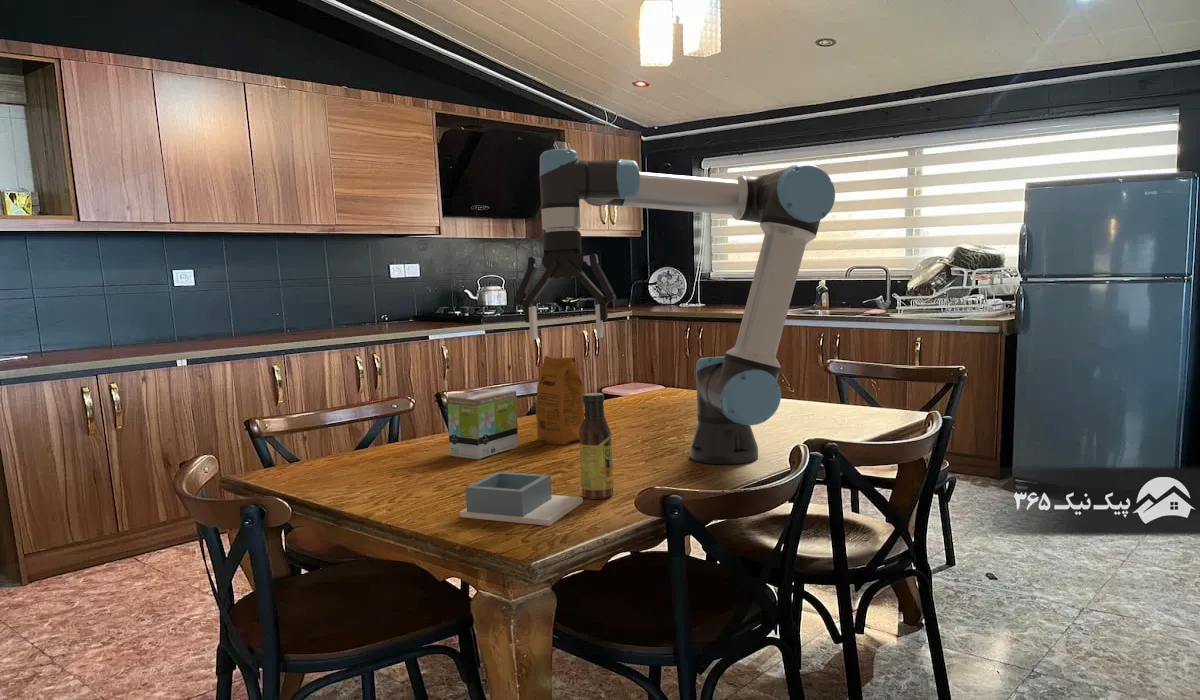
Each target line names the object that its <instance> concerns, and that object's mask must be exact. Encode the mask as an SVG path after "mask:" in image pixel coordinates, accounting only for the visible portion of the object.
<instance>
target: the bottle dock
mask: <svg viewBox="0 0 1200 700" xmlns="http://www.w3.org/2000/svg"><path fill="white" fill-rule="evenodd" d="M551 477H552V476H551V475H550V474H536V473H535V474H534V473H521V472H508V471H507V472H506V471H495V472H494V473H492V474H489V475H487V476H486V477H484V478H482V479H480V480H476V482H474V483H472V484H469V485H468V486H466V487H465V501H466V508H464V509H462V510H461V511H459V517H460V518H468V519H477V520H485V521H486V520H487V521H488V520H489V521H498V522H508V523H516V524H527V525H535V526H536V525H538V526H547V527H548V526H550V527H551V526H552V525H553V524H554V523H555V522H557V521H558V520H560V519H561V518H563V517H565V515H568V513H570V512H571V511H573V510H574V509H576V508H577V507H579V506H580V505H581V504H583V499H584V498H583V496H582V497H581V496H572V495H571V496H570V495H558V494H557V495H555V494H552V478H551Z"/></svg>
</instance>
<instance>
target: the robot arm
mask: <svg viewBox="0 0 1200 700" xmlns="http://www.w3.org/2000/svg"><path fill="white" fill-rule="evenodd" d="M539 187H540V188H539V189H540V203H541V204H540V205H541V224H542V225H541V228H542V230H545V232H543V234H542V244H543V247H542V249H543V255H542V257H536V256H529V257H528V259H527V269H526V271H525V274H524V276H523V279H522V280H521V284H520V286H519V288H518V290H517V293H516V296H515V298H514V303H515V304H516V305H521V306H522V307H523V312H524V313H523V314H524V321H525V323H526V324H529V335H530V336H529V338H530V341H531V340H533V341H534V340H537V339H538V337H539V335H538V334H539V333H538V313H537V311H538V310H537V306H536V305H534V303H535V301H536V300H537V299H538V298H539V296H540V294H542V292H543V291H544V289H545V288H546V287H547V286H548V284H549V283H550V282H551V281H552V279H553V278H554V279H555V280H556V279H563V278H564V279H572V278H576V279H577V280H578V281H580V283H581V284H582V286H584V288H585V289H586V290H587V291H588V292H589V293H590V294H591V296H593V298H594V299H595V300H596V301H597V302H598V304H595V306H594V307H595V325H596V326H595V327H596V328H595V329H596V339H601V338H602V339H603V338H604V322H603V321H607V320H608V317H609V315H608V314H609V313H608V304H609V303H611V302H613V301H614V300H616V299H617V295H616V293H615V291H614V290H613V287H612V286H611V284H610V282H609V279H608V278H607V276H606V275H605V273H604V271H603V268H602V266H601V265H600V262H599V261H600V260H599V255H598V254H596V253H591V254H590V255H589V254H588V255H583V250H582V249H583V247H582V233H581V232H580V231H579V230H578V229H580V228H581V209H580V207H581V206H580V201H581V200H583V201H584V202H585V203H586V204H588V205H591V206H594V207H602V206H613V207H616V206H617V207H630V208H641V209H642V208H643V209H655V210H657V209H658V210H665V211H666V210H667V211H669V210H670V211H680V212H681V211H682V212H693V213H705V214H717V215H727V216H728V215H731V216H732V218H733V219H734V220H735V221H745V222H746V221H747V222H753V223H759V227H760V228H761V230H762V232H763V234H764V236H763V241H762V244H761V248H760V252H759V255H758V259H757V262H756V263H757V264H756V267H755V271H754V275H753V278H752V281H751V285H750V289H749V293H748V297H747V299H746V300H747V301H746V305H745V307H744V310H743V311H744V312H743V315H742V320H741V323H740V326H739V330H738V335H737V337H736V342H735V345H734V346H733V347H731V348H730V349H728V350H726V351H725V354H724V355H723V356H710V357H700V358H698V359H697V360H696V364H695V369H696V370H695V372H694V373H695V377H696V379H695V381H696V382H695V383H696V384H695V385H696V411H697V414H696V416H697V424H696V429H695V432H694V436H693V439H692V442H691V445H690V458H691V460H693V461H695V462H699V463H704V464H712V465H737V464H745V463H751V462H753V461H756V460H758V458H759V446H758V444H757V440H756V437H755V434H754V432H753V429H752V426H755V425H760V424H763V423H765V422H767V421H768V420H770V419H771V418H772V417H773V416H774V415H775V413H777V410H778V409H779V406H780V403H781V399H782V391H781V387H780V385H779V382H778V379H779V375H780V370H781V364H780V362H779V360H778V358H777V353H778V349H779V345H780V343H781V342H780V341H781V338H782V334H783V329H784V328H785V324H786V321H787V320H786V319H787V316H788V312H789V309H790V304H791V302H792V296H793V293H794V289H795V286H796V282H797V278H798V276H799V271H800V267H801V265H802V261H803V256H804V252H805V249H806V246H807V244H808V243H809V242H811V241H813V240H814V239H816V238H817V233H818V230H819V227H820V223H821V220H823V219H824V218H826V216H827V215H829V213H830V212H831V211H832V209H833V207H834V204H835V200H836V189H835V186H834V182H833V181H832V180H831V178H830V176H829V175H828V173H827V172H826V171H825V170H823V169H822V168H821V167H819V166H818V165H817V166H816V165H815V164H809V163H805V164H793V165H791V166H788V167H786V168H784V169H781V170H778V171H775V172H772V173H767V174H763V175H755V176H753V175H752V176H751V175H749V176H748V175H747V176H746V175H739V176H738V177H737V178H735V179H726V178H715V177H703V176H691V175H679V174H670V173H669V174H667V173H656V172H645V171H640V168H639V164H638V163H637V161H635V160H632V159H623V158H619V159H602V160H601V159H600V160H582V159H579V157H578V152H577V151H576V150H574V149H570V148H569V149H565V148H555V149H548V150H545V151H543V152H542V153H541V154H540V156H539ZM584 263H586V264H587V265H588V266H590V267H591V270H592V272H593V274H594V276H595V277H596V279H597V281H598V283H599V285H600V286H601V288H602V290H603V292H604V294H605V295H604V294H603V293H602V292H601V290H600V289H599V288H598V287H597V286H596V284H594V282H592V281H591V279H590V278H589V277H588V276H587V275H586V273H585V272H584V271H583V270H582V267H583V266H584ZM541 265H542V266H543V267H544V268H545V271H544V272H543V274H542V276H541V278H540V279H539V281H538V282H537V283H536V285H535V286H534V287H533V289H532V290H531V292H530V293H529V289H530V287H531V285H532V283H533V280H534V277H535V275H536V273H537V269H539V268H540V267H541ZM527 294H528V296H527ZM526 296H527V297H526ZM533 305H534V306H533Z"/></svg>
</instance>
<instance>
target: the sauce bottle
mask: <svg viewBox="0 0 1200 700" xmlns="http://www.w3.org/2000/svg"><path fill="white" fill-rule="evenodd" d="M604 402H605V394H604V393H602V392H591V393H590V392H589V393H588V392H587V393H583V403H584V421H583V423H582V424H581V427H580V433H579V434H580V440H579V464H580V481H581V482H580V484H581V485H580V486H581V491H582V493H581V494H582V497H583V498H585V499H588V500H603V499H607V498H610V497H612V496H613V495H614V467H613V466H614V464H613V462H614V461H613V441H612V439H613V438H612V432H611V430H610V427H609V425H608V422H607V419H606V417H605V411H604V410H605V409H604V408H605V407H604V406H605V405H604Z"/></svg>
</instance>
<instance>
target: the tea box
mask: <svg viewBox="0 0 1200 700" xmlns="http://www.w3.org/2000/svg"><path fill="white" fill-rule="evenodd" d="M517 398H518V397H517V390H509V389H499V388H497V389H496V388H485V389H480V390H479V389H478V390H475V391H471V392H465V393H461V394H460V393H459V394H455V395H451V396H447V410H448V411H447V415H448V416H447V417H448V419H447V422H448V440H449V441H448V446H449V447H448V448H449V449H448V450H449V452H448V453H449V456H450V457H456V458H463V459H471V460H482V459H483V458H485V457H489V456H492V455H496V454H498V453H502V452H506V451H509V450H513V449H517V448H518V447H519V434H518V433H519V432H518V431H519V430H518V427H519V426H518V407H517V406H518V401H517V400H518V399H517Z"/></svg>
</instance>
